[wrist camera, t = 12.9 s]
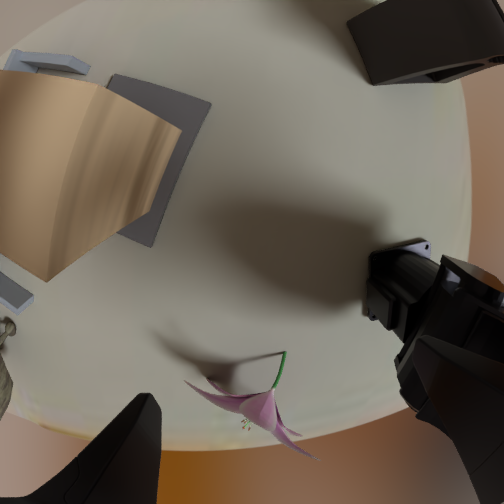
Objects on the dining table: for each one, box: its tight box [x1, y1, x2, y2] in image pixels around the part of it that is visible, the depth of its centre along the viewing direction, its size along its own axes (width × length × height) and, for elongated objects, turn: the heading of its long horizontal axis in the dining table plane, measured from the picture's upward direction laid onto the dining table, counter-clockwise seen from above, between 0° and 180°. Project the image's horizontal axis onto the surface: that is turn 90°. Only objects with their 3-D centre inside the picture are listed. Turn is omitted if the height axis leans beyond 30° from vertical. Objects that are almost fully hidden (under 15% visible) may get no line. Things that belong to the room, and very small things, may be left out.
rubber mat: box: [107, 74, 212, 248], centre depth 17 cm, size 8×11×1 cm
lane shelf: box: [0, 49, 91, 315], centre depth 15 cm, size 7×22×4 cm, turn 155°
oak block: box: [0, 70, 182, 283], centre depth 11 cm, size 6×6×12 cm
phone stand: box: [347, 0, 504, 86], centre depth 9 cm, size 9×6×12 cm, turn 107°
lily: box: [184, 352, 319, 460], centre depth 21 cm, size 12×12×10 cm
